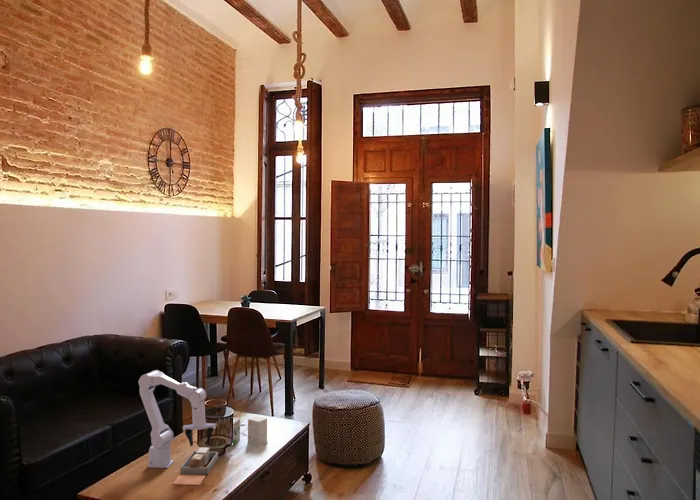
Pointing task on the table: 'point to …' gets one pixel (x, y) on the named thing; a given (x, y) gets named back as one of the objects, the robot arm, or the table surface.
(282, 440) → the table surface
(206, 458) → the white box
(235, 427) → the ink box
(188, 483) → the tile
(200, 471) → the bin
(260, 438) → the small box
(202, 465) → the walnut box
